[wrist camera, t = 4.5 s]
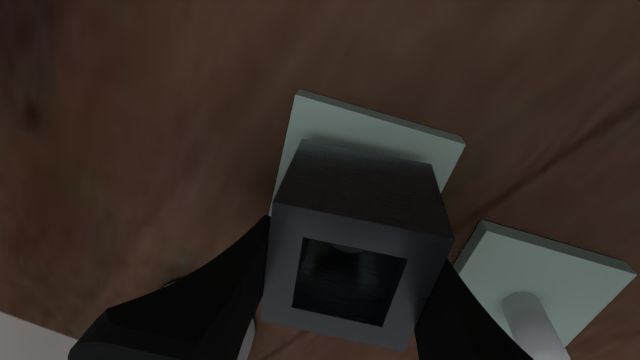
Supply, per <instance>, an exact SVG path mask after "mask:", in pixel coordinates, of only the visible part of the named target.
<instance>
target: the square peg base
mask: <svg viewBox="0 0 640 360" xmlns="http://www.w3.org/2000/svg"><path fill="white" fill-rule="evenodd" d="M301 139H307V140H312V141H317V142H322V143H327V144H332V145H337V146H342V147H347V148H352V149H357V150H362V151H368V152H373V153H378V154H383V155H388V156H393V157H398V158H403V159H408V160H413V161H418V162H423V163H428V164H432V167H433V171H434V174H435V177H436V180H437V183H438V187H439V190H440V193H441V192H442V190H443V188H444V186H445V184H446V182H447V180H448V178H449V177H450V175H451V173H452V171H453V169H454V167H455V165H456V163H457V161H458V159H459V157H460V155H461V153H462V151H463V149H464V147H465V145H466V144H465V142H464V141H463V139H462V137H461V136H458V135H454V134H451V133H448V132H444V131H441V130H437V129H434V128H431V127H427V126H424V125H420V124H417V123H414V122H410V121H407V120H403V119H400V118H397V117H393V116H390V115H386V114H383V113H380V112H376V111H373V110H369V109H366V108H363V107H359V106H356V105H352V104H349V103H346V102H342V101H339V100H335V99H332V98H329V97H325V96H322V95H318V94H315V93H311V92H308V91H305V90H301V89H299V90H298V92H297V93H296V94H295V98H294V103H293V107H292V112H291V117H290V121H289V126H288V130H287V135H286V139H285V144H284V148H283V153H282V157H281V162H280V166H279V171H278V175H277V180H276V184H275V189H274V193H273V198H272V202H273V199H274V197H275V195H276V193H277V191H278V189H279V186H280V184H281V182H282V180H283V178H284V176H285V174H286V171H287V169H288V167H289V165H290V163H291V161H292V159H293V156H294V154H295V152H296V150H297V148H298V146H299V144H300V141H301ZM272 202H271V207H270V211H269V216H271V210H272ZM331 244H332V245H333V246H334V247H335V248H336V249H338V250H340V251H343V252H346V253H358V252H361V251H364V250H363V249H358V248H354V247H349V246H344V245H339V244H335V243H331Z"/></svg>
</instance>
